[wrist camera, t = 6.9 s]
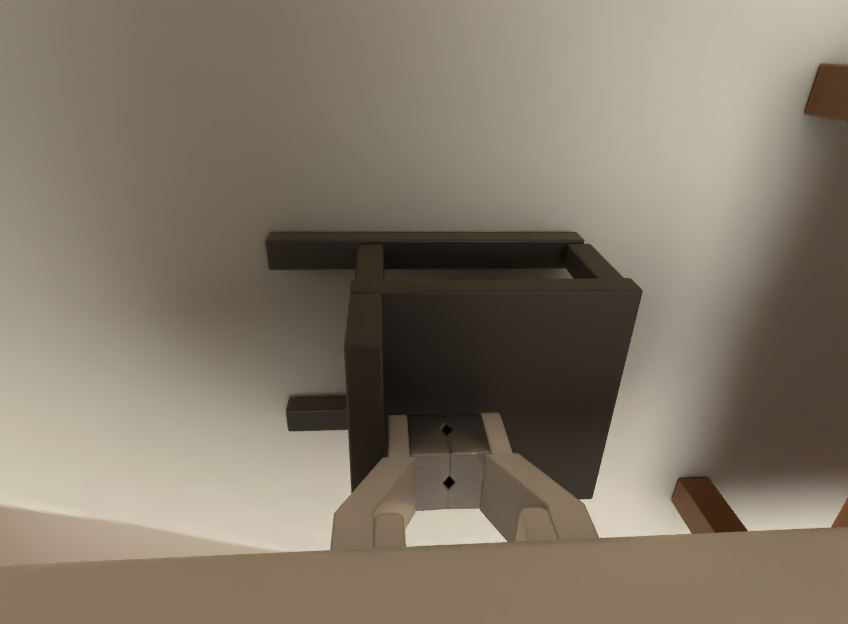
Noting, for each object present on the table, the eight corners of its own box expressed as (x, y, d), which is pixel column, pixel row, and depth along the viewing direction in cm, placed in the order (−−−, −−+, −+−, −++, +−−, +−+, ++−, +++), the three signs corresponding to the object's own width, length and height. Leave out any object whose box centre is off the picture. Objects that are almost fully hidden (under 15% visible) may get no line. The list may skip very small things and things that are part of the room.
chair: (290, 418, 20) (251, 588, 14) (269, 231, 17) (204, 347, 11) (552, 411, 21) (624, 569, 15) (584, 231, 18) (695, 339, 11)
